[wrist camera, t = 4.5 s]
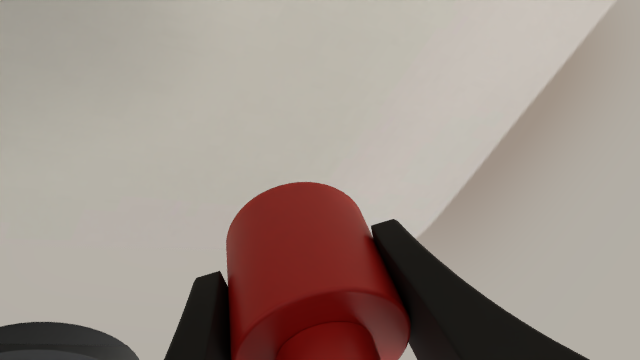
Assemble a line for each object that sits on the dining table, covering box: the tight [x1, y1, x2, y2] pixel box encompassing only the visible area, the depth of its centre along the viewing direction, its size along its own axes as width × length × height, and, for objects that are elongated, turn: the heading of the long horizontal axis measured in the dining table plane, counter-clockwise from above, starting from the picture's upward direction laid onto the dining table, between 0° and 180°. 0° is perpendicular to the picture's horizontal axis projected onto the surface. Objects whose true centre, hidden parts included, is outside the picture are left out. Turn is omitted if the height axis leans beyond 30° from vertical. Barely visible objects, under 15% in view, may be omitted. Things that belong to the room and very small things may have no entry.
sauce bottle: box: [226, 182, 411, 360], centre depth 10 cm, size 4×4×6 cm
